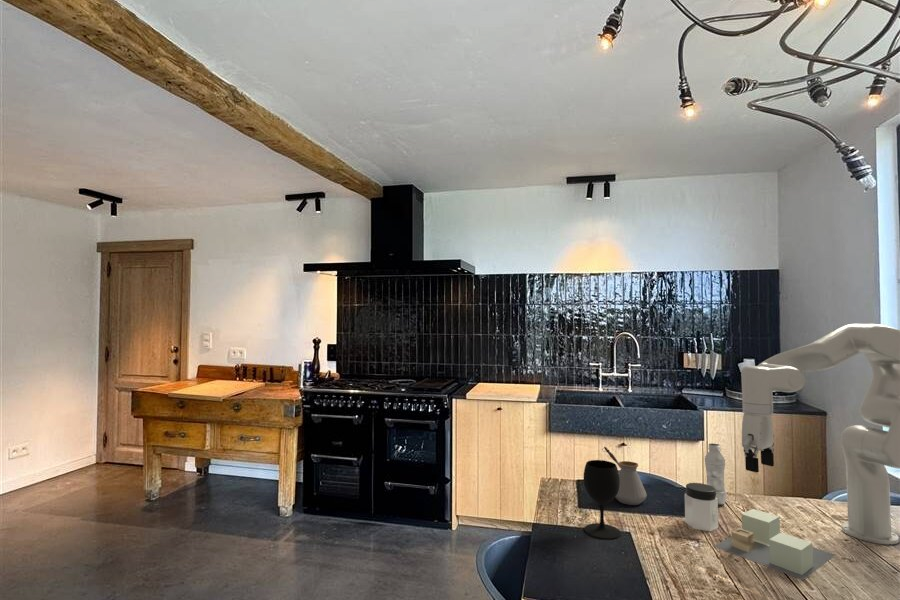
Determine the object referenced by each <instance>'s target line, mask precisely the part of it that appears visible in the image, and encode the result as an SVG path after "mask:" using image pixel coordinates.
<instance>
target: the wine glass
mask: <svg viewBox="0 0 900 600" xmlns="http://www.w3.org/2000/svg"><path fill="white" fill-rule="evenodd" d="M583 486H584V489H585V491H586V493H587V494H588V496H589V497H590V498H591V499H592V501H594V502H595V503H596V504H598V505H599V513H600V514H599V516H600V519H599V520H600V522H597V523H594V522H593V523H589V524H586V525H584V532H585V533H586V534H587V535H588V536H590V537H592V538H594V537H595V539H598V538H599V539H598V540H603V539H612V540H616V539H619V538H620V537H619V536H621V531H620V530H619V528H617V527H615V526H613V525H610V524H606V523H605V519H604V515H605V514H604V513H605V506H606V505H607V504H608V503H610V502H612V501H613V500H614V499H616V498H615V496H616V495H617V493H618V491H619V486H620V478H619V470H618V465H617V463H614V462H612V461H609V460H603V459H591V460H588V461H586V462H585V465H584V471H583Z"/></svg>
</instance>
